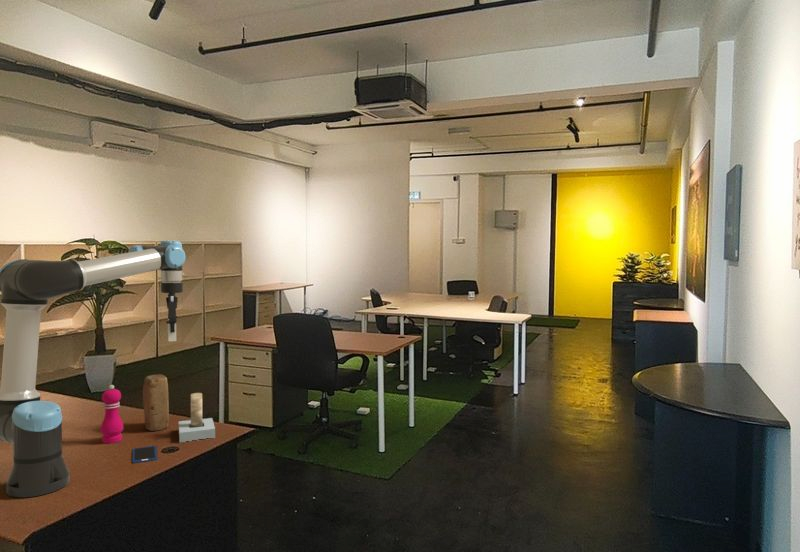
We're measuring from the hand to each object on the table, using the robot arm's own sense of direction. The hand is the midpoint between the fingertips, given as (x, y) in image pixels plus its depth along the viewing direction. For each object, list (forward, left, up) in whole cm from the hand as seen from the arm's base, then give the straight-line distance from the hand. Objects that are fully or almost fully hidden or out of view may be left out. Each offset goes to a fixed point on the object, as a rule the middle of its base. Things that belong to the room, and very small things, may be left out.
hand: (172, 338), depth 207 cm
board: (+8, -9, -35) cm, 37 cm away
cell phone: (-9, -24, -35) cm, 44 cm away
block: (-6, +5, -35) cm, 36 cm away
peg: (+8, -9, -35) cm, 37 cm away
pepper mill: (-20, -5, -35) cm, 41 cm away
